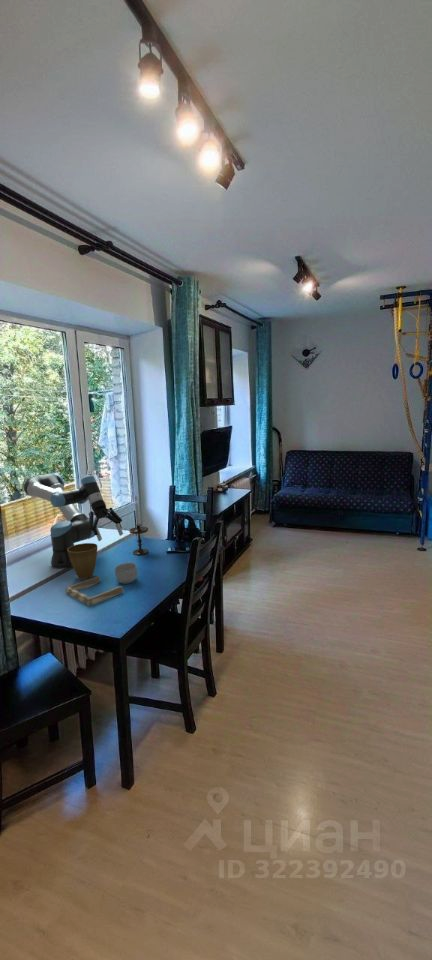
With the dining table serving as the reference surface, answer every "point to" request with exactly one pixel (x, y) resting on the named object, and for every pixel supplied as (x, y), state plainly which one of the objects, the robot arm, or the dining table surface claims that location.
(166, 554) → the dining table surface
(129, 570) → the teacup
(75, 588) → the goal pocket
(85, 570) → the plant pot
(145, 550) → the candlestick
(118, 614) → the dining table surface
